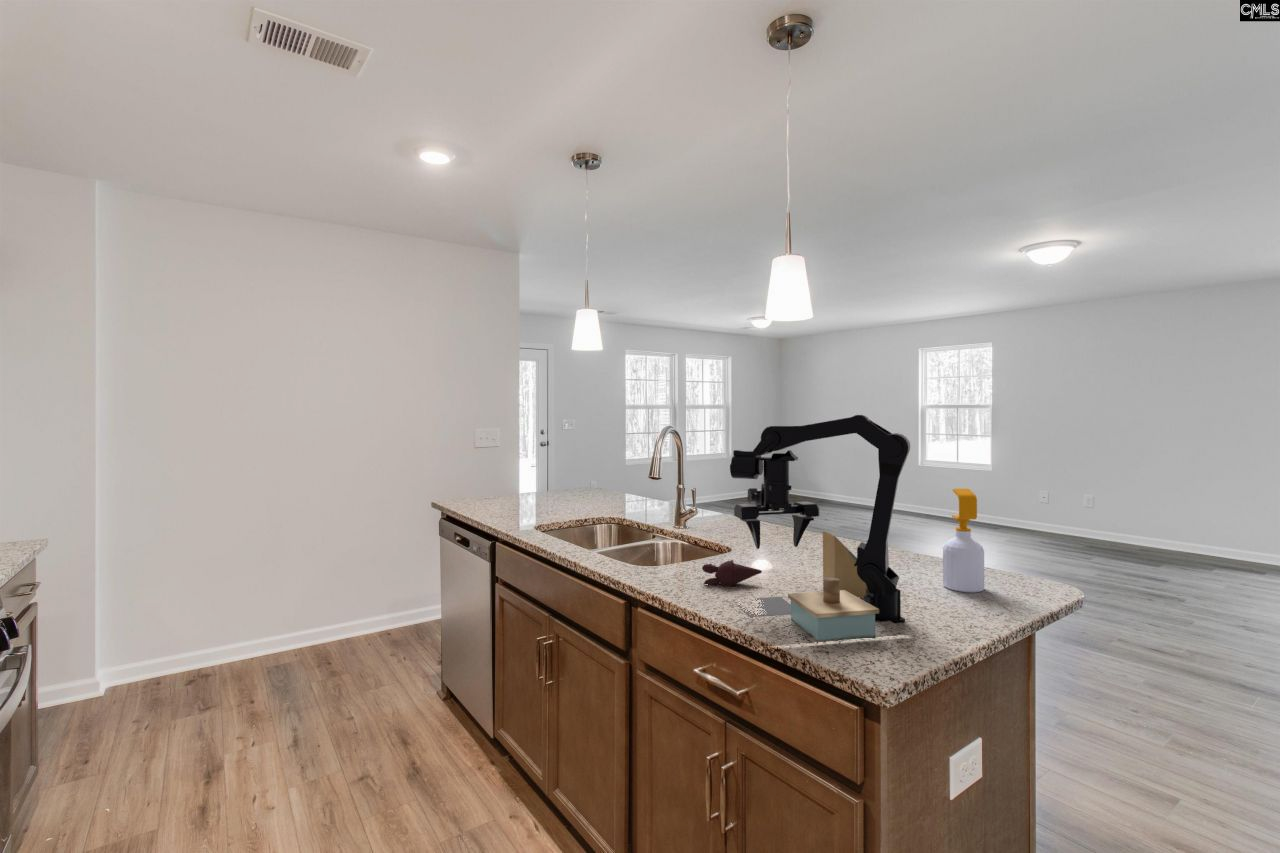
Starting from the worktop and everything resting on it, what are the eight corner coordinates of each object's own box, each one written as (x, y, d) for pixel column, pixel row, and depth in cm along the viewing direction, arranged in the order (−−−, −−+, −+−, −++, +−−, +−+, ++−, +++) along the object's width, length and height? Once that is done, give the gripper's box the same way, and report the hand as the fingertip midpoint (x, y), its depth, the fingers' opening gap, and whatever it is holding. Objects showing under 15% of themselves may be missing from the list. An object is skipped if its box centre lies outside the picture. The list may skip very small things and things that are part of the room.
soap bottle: (973, 582, 153) (973, 487, 152) (991, 593, 144) (991, 491, 143) (937, 582, 154) (936, 487, 153) (952, 592, 144) (951, 491, 144)
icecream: (758, 557, 156) (701, 562, 157) (761, 556, 149) (701, 562, 150) (761, 584, 154) (704, 589, 155) (765, 585, 147) (704, 590, 148)
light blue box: (843, 617, 128) (843, 594, 128) (875, 638, 116) (875, 612, 116) (791, 621, 126) (790, 598, 126) (817, 643, 114) (817, 617, 114)
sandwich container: (898, 597, 142) (898, 534, 142) (834, 598, 142) (834, 535, 141) (883, 587, 151) (882, 528, 150) (822, 588, 150) (822, 529, 150)
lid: (844, 593, 128) (844, 569, 128) (879, 613, 115) (879, 586, 115) (787, 597, 126) (787, 573, 126) (816, 618, 113) (816, 590, 113)
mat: (780, 599, 141) (779, 596, 141) (802, 615, 129) (802, 613, 129) (731, 602, 139) (731, 599, 139) (749, 619, 127) (749, 616, 127)
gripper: (798, 475, 147) (799, 538, 147) (726, 477, 144) (726, 542, 144) (820, 480, 136) (820, 548, 136) (742, 482, 133) (742, 552, 133)
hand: (776, 547), depth 138 cm, fingers open, 9 cm apart
